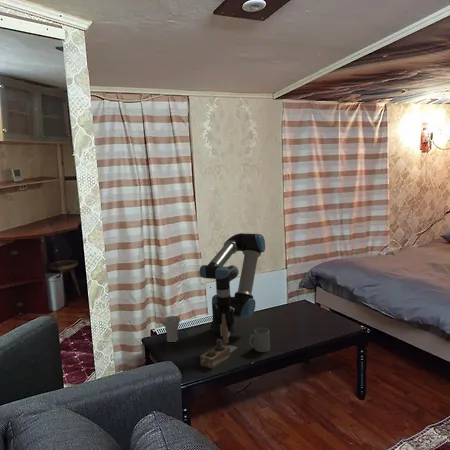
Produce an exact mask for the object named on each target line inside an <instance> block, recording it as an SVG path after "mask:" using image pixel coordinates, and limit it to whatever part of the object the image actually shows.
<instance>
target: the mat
mask: <svg viewBox="0 0 450 450" xmlns="http://www.w3.org/2000/svg"><path fill="white" fill-rule="evenodd" d="M222 346H225V347H229V348H230V354H231V353H232V352H233V351H235V350H236V349H238V348H239V347H237V346H234V345H230V344H224V343H222Z"/></svg>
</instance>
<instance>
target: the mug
mask: <svg viewBox="0 0 450 450" xmlns="http://www.w3.org/2000/svg"><path fill="white" fill-rule="evenodd" d="M253 331H254V332H253V334H250V336H249V340H248V343H249V345H250V347H252V348H254V350H255V352H256V351H257V352H258V353H268V352H269V351H271V341H270V339H271V338H270V329H269V328H266V327H257V328H255V329H254V330H253ZM253 338H254V341H253V342H254V343H252V339H253Z"/></svg>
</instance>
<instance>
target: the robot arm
mask: <svg viewBox="0 0 450 450" xmlns="http://www.w3.org/2000/svg"><path fill="white" fill-rule="evenodd" d="M265 250H266V240H265V237H264V236H263V234H260V233H243V232H241V233H237V234H234V235H232V236H230V237H229V238H228V239H227V240H226V241H224V244H223V246H222V248H221V249H220V250H219V251H218V252H217V253H216V254H215V256H214V257H213V258H212V259H211V260H210V261H209V263H208V264H207V265H206V264H203V265H201V266H200V268H199V276H200V278H203V279H210V280H215V290H216V294H214V295H213V296H212V297H211V306H212V307H211V312H212V321H211V324H210V333H211V334H213V335H218V336H219V335H220V336H221V337H223V333H222V315H223V314H225V317H226V322H227V326H226V337H228V338H230V336H231V334H232V333H234V332H235V318H237V317H238V318H245V319H246V318H248V319H249V318H251V317H252V316H253V315H254V313H255V309H256V300H255V299H254V295H253V294H252V293H253V286H254V281H255V274H256V271H257V270H256V269H257V264H258V258H259V257H261V255H262V253H264V252H265ZM237 252H242V254H243V255H244V257H243V262H242V267H241V270H240V271H241V273H240V272H239V268H238V266H236V265H233V264H232V265H229V266H225V264H226V263H228V261H229V259H230V258H231V257H232V255H234V254H236V253H237ZM239 274H240V277H239V278H240V279H239V282H238V289H237V291H236V292H234V295H233V296H232V295H231V286H230V285H231V284H230V283H231V281H233V280H235V279H236V278H237V277H238V276H239Z"/></svg>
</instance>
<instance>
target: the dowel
mask: <svg viewBox="0 0 450 450" xmlns="http://www.w3.org/2000/svg"><path fill="white" fill-rule="evenodd" d="M226 326H227V322H226V317H225V314H223V315H222V333H223V336H222V344H226V345H228V344H229V343H230V342H229V341H230V340H229V338H230V337H226Z"/></svg>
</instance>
